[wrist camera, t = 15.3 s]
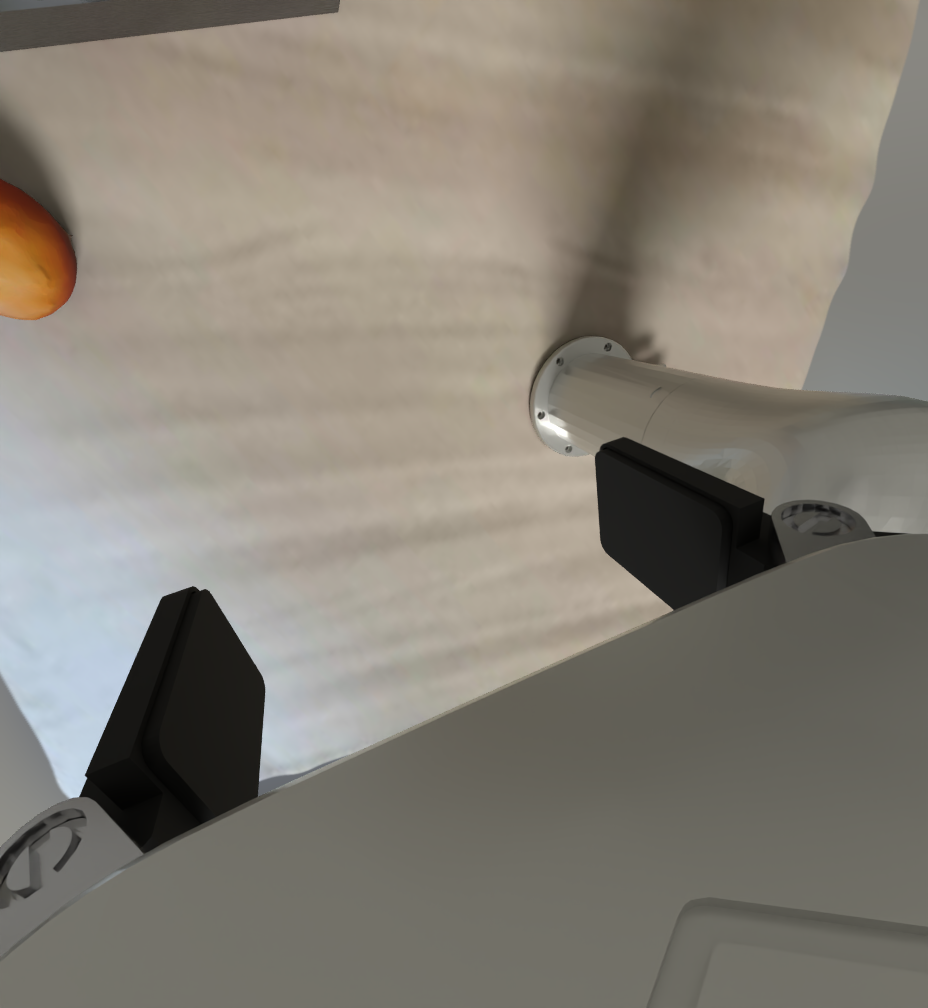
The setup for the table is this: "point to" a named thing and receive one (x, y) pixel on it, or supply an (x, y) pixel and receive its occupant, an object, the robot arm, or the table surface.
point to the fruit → (32, 258)
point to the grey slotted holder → (134, 18)
